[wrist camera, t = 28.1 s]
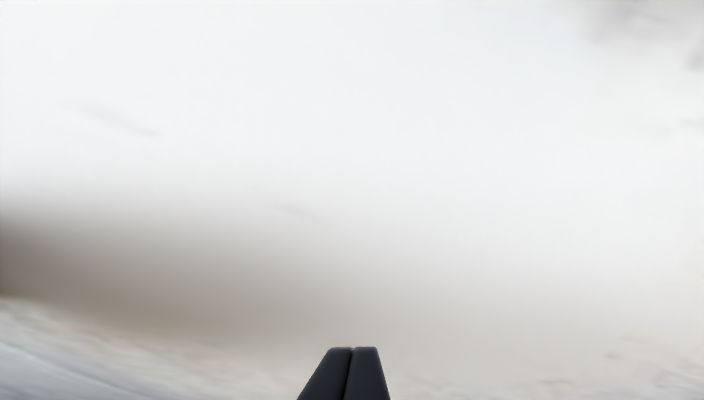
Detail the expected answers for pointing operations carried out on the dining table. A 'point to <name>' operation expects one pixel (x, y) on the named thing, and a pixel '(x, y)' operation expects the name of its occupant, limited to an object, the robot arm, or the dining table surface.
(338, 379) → the robot arm
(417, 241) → the dining table surface
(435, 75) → the dining table surface
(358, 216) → the dining table surface
